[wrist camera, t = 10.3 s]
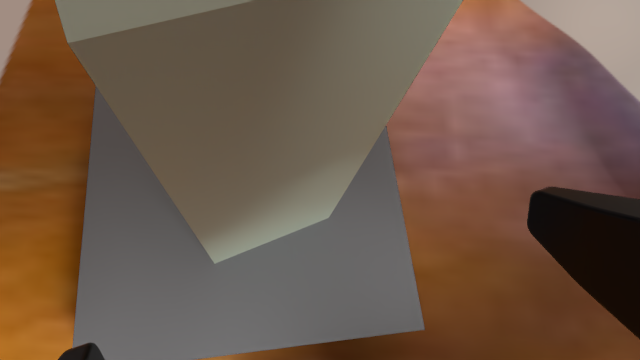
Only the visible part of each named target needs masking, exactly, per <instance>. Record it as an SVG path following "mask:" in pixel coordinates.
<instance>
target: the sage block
mask: <svg viewBox="0 0 640 360" xmlns="http://www.w3.org/2000/svg"><path fill="white" fill-rule="evenodd" d="M462 1H463V0H55V3H56V6H57V9H58V13H59V16H60V20H61V23H62V26H63V30H64V33H65V36H66V40H67V43H68V45H69V46H70V48H71V49H72V51H73V52H74V54H75V55H76V57H77V58H78V60H79V61H80V63H81V64H82V66H83V67H84V69H85V70H86V72H87V73H88V75H89V76H90V78H91V79H92V81H93V82H94V84H95V85H96V87H97V88H98V90H99V91H100V93H101V94H102V96H103V97H104V99H105V100H106V102H107V103H108V105H109V106H110V108H111V109H112V111H113V112H114V114H115V115H116V117H117V118H118V120H119V121H120V123H121V124H122V126H123V127H124V129H125V130H126V132H127V133H128V135H129V136H130V138H131V139H132V141H133V142H134V144H135V145H136V147H137V148H138V150H139V151H140V153H141V154H142V156H143V157H144V159H145V160H146V162H147V163H148V165H149V166H150V168H151V169H152V171H153V172H154V174H155V175H156V177H157V178H158V180H159V181H160V183H161V184H162V186H163V187H164V189H165V190H166V192H167V193H168V195H169V196H170V198H171V199H172V201H173V202H174V204H175V205H176V207H177V208H178V210H179V211H180V213H181V214H182V216H183V217H184V219H185V220H186V222H187V223H188V225H189V226H190V228H191V229H192V231H193V232H194V234H195V235H196V237H197V238H198V240H199V241H200V243H201V244H202V246H203V247H204V249H205V250H206V252H207V253H208V255H209V256H210V258H211V259H212V261H213V262H214V264H215V263H218V262H220V261H223V260H225V259H228V258H230V257H233V256H235V255H238V254H240V253H243V252H245V251H248V250H250V249H253V248H255V247H258V246H260V245H263V244H265V243H268V242H270V241H272V240H275V239H277V238H280V237H282V236H285V235H287V234H290V233H292V232H295V231H297V230H300V229H302V228H305V227H307V226H310V225H312V224H315V223H317V222H320V221H322V220H325V219H327V218H329V217H330V215H331V213H332V212H333V210H334V209H335V207H336V205H337V204H338V202H339V200H340V199H341V197H342V196H343V194H344V192H345V191H346V189H347V188H348V186H349V184H350V183H351V181H352V179H353V178H354V176H355V175H356V173H357V171H358V170H359V168H360V166H361V165H362V163H363V162H364V160H365V158H366V157H367V155H368V153H369V152H370V150H371V149H372V147H373V145H374V144H375V142H376V141H377V139H378V137H379V136H380V134H381V132H382V131H383V129H384V128H385V126H386V124H387V123H388V121H389V119H390V118H391V116H392V115H393V113H394V111H395V110H396V108H397V107H398V105H399V103H400V102H401V100H402V98H403V97H404V95H405V94H406V92H407V90H408V89H409V87H410V85H411V84H412V82H413V81H414V79H415V77H416V76H417V74H418V72H419V71H420V69H421V68H422V66H423V64H424V63H425V61H426V60H427V58H428V56H429V55H430V53H431V51H432V50H433V48H434V47H435V45H436V43H437V42H438V40H439V38H440V37H441V35H442V34H443V32H444V30H445V29H446V27H447V26H448V24H449V22H450V21H451V19H452V17H453V16H454V14H455V13H456V11H457V9H458V8H459V6H460V4H461V3H462Z"/></svg>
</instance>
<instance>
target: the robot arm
mask: <svg viewBox="0 0 640 360" xmlns="http://www.w3.org/2000/svg"><path fill="white" fill-rule="evenodd" d="M527 226H528V229H529V231H530V233H531V234H532V235H533V236H534V237H535V238H536V239H537V241H538V242H539V243H540V244H541V245H542V246H543V247H544V248H545V249H546V250H547V251H548V252H549V253H550V254H551V255H552V256H553V258H554V259H555V260H556V261H557V262H558V263H559V264H560V265H561V266H562V267H563V268H564V269H565V270H566V271H567V272H568V274H569V275H570V276H571V277H572V278H573V279H574V280H575V281H576V282H577V283H578V284H579V285H580V286H581V287H582V288H583V289H584V290H586V291H587V292H588V293H589V294H590V295H591V296H592V297H593V298H594V299H595V300H596V301H598V302H599V303H600V304H601V305H602V306H603V307H604V308H605V309H607V310H608V311H609V312H610V313H611V314H612V315H613V316H614V317H615V318H617V319H618V320H619V321H620V322H621V323H622V324H623V325H624V326H625V327H627V328H628V329H629V330H630V331H631V332H632V333H633V334H634V335H636V336H637V337H638V338H639V339H640V199H634V198H627V197H620V196H613V195H606V194H599V193H592V192H586V191H579V190H572V189H565V188H558V187H546V188H543V189H540V190H537V191H535V192H533V193H532V195H531V197H530V203H529V211H528V219H527ZM58 360H105V359H104V357H103V355H102V353H101V351H100V349H99V348H98V346H97V345H96V344H95V343H91V342H90V343H86V344H83V345H80V346H77V347H74V348H71V349H69V350H67V351H65V352H64V353H63V354H62V355H61V356H60V358H59V359H58Z"/></svg>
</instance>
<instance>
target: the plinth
mask: <svg viewBox="0 0 640 360" xmlns="http://www.w3.org/2000/svg"><path fill="white" fill-rule="evenodd" d="M418 330H425V328H424V322H423V317H422V312H421V307H420V301H419V296H418V291H417V286H416V280H415V275H414V270H413V264H412V259H411V254H410V249H409V243H408V238H407V233H406V227H405V222H404V217H403V212H402V206H401V201H400V196H399V191H398V185H397V180H396V175H395V169H394V164H393V159H392V154H391V148H390V143H389V138H388V132H387V127H386V126H385V128H384V129H383V131H382V132H381V134H380V136H379V137H378V139H377V141H376V142H375V144H374V145H373V147H372V149H371V150H370V152H369V153H368V155H367V157H366V158H365V160H364V162H363V163H362V165H361V166H360V168H359V170H358V171H357V173H356V175H355V176H354V178H353V179H352V181H351V183H350V184H349V186H348V188H347V189H346V191H345V192H344V194H343V196H342V197H341V199H340V200H339V202H338V204H337V205H336V207H335V209H334V210H333V212H332V213H331V215H330V217H329V218H327V219H325V220H322V221H320V222H317V223H315V224H312V225H310V226H307V227H305V228H302V229H300V230H297V231H295V232H292V233H290V234H287V235H285V236H282V237H280V238H277V239H275V240H272V241H270V242H268V243H265V244H263V245H260V246H258V247H255V248H253V249H250V250H248V251H245V252H243V253H240V254H238V255H235V256H233V257H230V258H228V259H225V260H223V261H220V262H218V263H215V264H214V262H213V261H212V259H211V258H210V256H209V255H208V253H207V252H206V250H205V249H204V247H203V246H202V244H201V243H200V241H199V240H198V238H197V237H196V235H195V234H194V232H193V231H192V229H191V228H190V226H189V225H188V223H187V222H186V220H185V219H184V217H183V216H182V214H181V213H180V211H179V210H178V208H177V207H176V205H175V204H174V202H173V201H172V199H171V198H170V196H169V195H168V193H167V192H166V190H165V189H164V187H163V186H162V184H161V183H160V181H159V180H158V178H157V177H156V175H155V174H154V172H153V171H152V169H151V168H150V166H149V165H148V163H147V162H146V160H145V159H144V157H143V156H142V154H141V153H140V151H139V150H138V148H137V147H136V145H135V144H134V142H133V141H132V139H131V138H130V136H129V135H128V133H127V132H126V130H125V129H124V127H123V126H122V124H121V123H120V121H119V120H118V118H117V117H116V115H115V114H114V112H113V111H112V109H111V108H110V106H109V105H108V103H107V102H106V100H105V99H104V97H103V96H102V94H101V93H100V91H99V90H98V88H97V87H96V89H95V100H94V112H93V123H92V134H91V145H90V157H89V168H88V179H87V191H86V202H85V213H84V224H83V236H82V247H81V258H80V269H79V281H78V292H77V303H76V314H75V326H74V337H73V348H74V347H77V346H80V345H83V344H86V343H90V342H91V343H95V344H96V345H97V346H98V348H99V349H100V351H101V353H102V355H103V357H104V359H105V360H194V359H202V358H210V357H217V356H225V355H233V354H240V353H248V352H256V351H264V350H271V349H279V348H287V347H295V346H302V345H310V344H318V343H325V342H333V341H341V340H349V339H356V338H364V337H372V336H380V335H387V334H395V333H403V332H411V331H418Z"/></svg>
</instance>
